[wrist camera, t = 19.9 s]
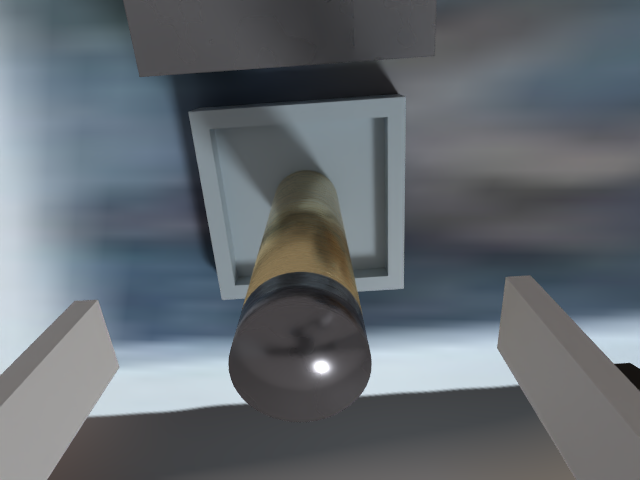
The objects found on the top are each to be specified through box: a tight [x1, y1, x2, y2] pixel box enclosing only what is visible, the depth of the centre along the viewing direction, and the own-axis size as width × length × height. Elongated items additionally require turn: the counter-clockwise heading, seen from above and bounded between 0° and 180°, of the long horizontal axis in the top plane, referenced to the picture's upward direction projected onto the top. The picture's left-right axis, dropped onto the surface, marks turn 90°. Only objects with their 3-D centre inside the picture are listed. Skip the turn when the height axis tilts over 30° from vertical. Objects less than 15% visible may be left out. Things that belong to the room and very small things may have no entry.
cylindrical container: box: [229, 170, 371, 422], centre depth 19 cm, size 4×4×16 cm
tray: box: [188, 94, 406, 300], centre depth 27 cm, size 12×12×2 cm
